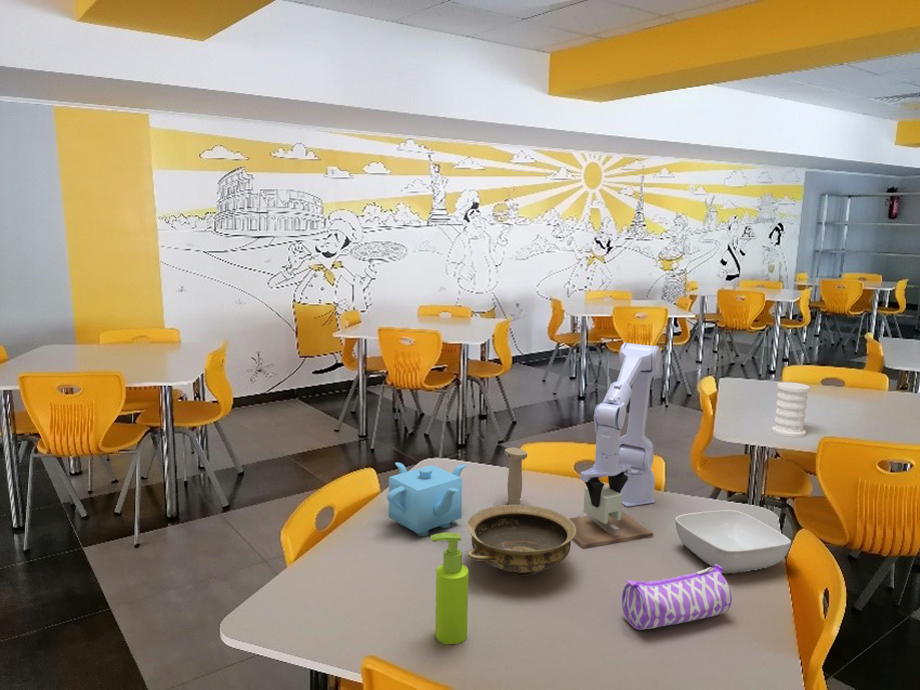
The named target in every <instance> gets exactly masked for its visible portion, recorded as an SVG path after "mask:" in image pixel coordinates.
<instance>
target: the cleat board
mask: <svg viewBox="0 0 920 690" xmlns="http://www.w3.org/2000/svg"><path fill="white" fill-rule="evenodd" d="M568 518H569V517H568ZM569 519H570V520H571V521H572V522H573V523H574V525H575V527H576V534H575V536H574V538H573V539H572V540H571V541H573V543H575V544H576V545H578V546H579V547H580V548H581V549H583V550H584V549H588V548H596V547H600V546H605V545H612V544H618V543H623V542H628V541H635V540H641V539H646V538H651V537H654V532H653V531H652V530H650V529H649V528H647V527H646V526H644V525H643V524H641V522H638V520H635V519H634V518H633V517H632V516H629V515H628V514H627V513H625V512H624V511H622V510H621V520H616V519H614V518H612V517H610V516H608V523H606V524H604V523H602V522H600V521H599V520H597V519H595V518H593V517H592V516H590V515H588V514H587V515H584V516H583V515H582V516H576V517H570V518H569Z"/></svg>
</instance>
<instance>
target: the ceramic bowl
mask: <svg viewBox="0 0 920 690" xmlns="http://www.w3.org/2000/svg"><path fill="white" fill-rule="evenodd" d="M466 528H467V531H468V533H469V534H470V535H471V546H472V550H471V549H470V550H469V551H468V552H467V557H468V558H469V559H470V560H473V561H480V562H481V561H483V562H484V563H486V564H488V565H490V566H492V567H494V568H497V569H500V570H503V571H505V572H507V573H508V574H511V575H515V576H518V577H519V576H523V577H524V576H532V575H534V574H536V573H538V572H541V571H546V570H548V569H551V568H554V567H555V566H558V565H559V564H560V563H562V562H563V561H564V560H565V559H566V558H567V556H568V555H569V554H570V550H571V546H572V545H571V544H572V541H573V540H572V539H573V538H574V536H575V534H576V527H575V525H574V523H573V522H572V521H571V520H570V519H569V517H568V516H566V515H564V514H562V513H561V512H558V511H555V510H553V509H549V508H546V507H541V506H537V505H536V506H534V505H528V504H527V505H526V504H519V505H510V504H503V505H495V506H490V507H487V508H483V509H481V510H479V511H477V512H475V513H473V514H472V515H471V516H470V517H469V518H468V520H467V522H466ZM475 554H476V555H475Z"/></svg>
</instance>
